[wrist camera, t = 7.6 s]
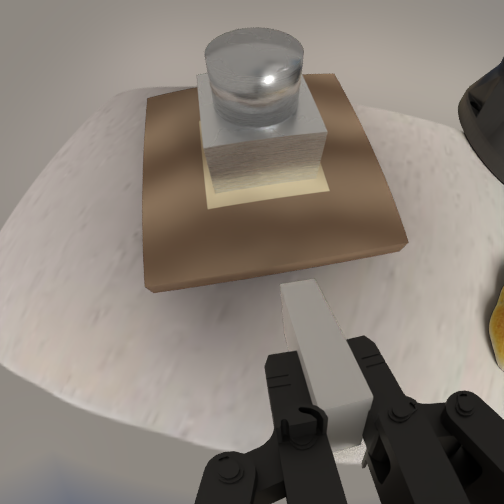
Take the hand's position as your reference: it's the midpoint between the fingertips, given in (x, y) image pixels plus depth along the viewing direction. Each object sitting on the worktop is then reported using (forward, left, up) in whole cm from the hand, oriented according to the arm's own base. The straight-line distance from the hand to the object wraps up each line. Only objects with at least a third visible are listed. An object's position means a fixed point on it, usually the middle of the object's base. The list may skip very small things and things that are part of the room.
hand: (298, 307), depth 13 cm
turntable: (+10, -4, -5) cm, 12 cm away
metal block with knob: (+11, -4, -3) cm, 12 cm away
